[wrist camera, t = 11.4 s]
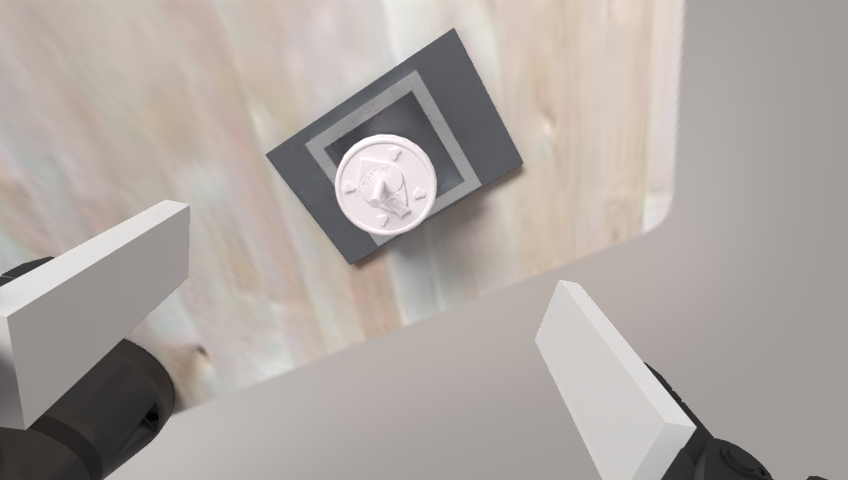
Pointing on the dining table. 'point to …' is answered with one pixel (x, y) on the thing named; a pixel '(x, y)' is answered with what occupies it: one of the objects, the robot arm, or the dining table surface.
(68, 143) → the dining table surface
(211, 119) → the dining table surface
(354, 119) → the collar
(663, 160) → the dining table surface
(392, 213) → the smoothie
